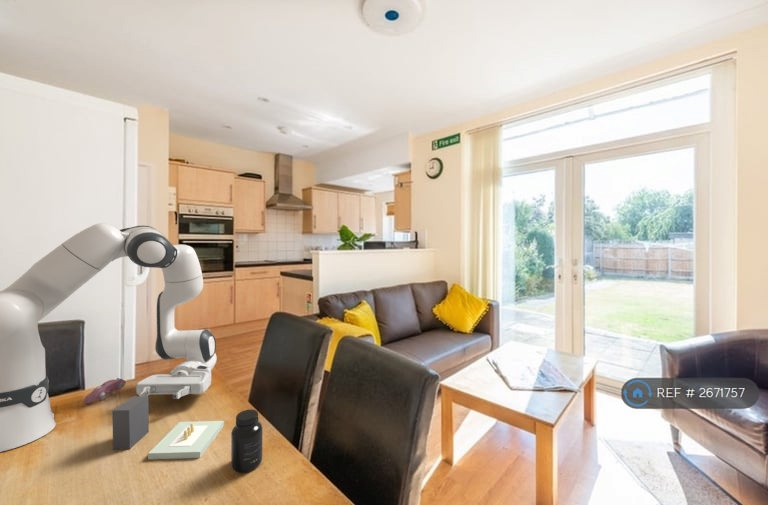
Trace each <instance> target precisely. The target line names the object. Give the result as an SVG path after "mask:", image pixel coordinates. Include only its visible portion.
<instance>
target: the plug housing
mask: <svg viewBox="0 0 768 505" xmlns="http://www.w3.org/2000/svg"><path fill="white" fill-rule="evenodd" d="M111 411H112V415H111V416H112V418H111V419H112V421H111V422H112V450H113V451H114V450H116V451H118V450H131V448H133V447H134V446H136V445H137V443H139V442H140V441H141V440H142V439H143V438H144V437H145V436H146V435H147V434H149V432H150V430H149V429H150V427H149V426H150V425H149V423H150V421H149V420H150V419H149V415H150V414H149V397H148V396H139V395H138V396H132V397H131V396H130V398H129V399H127V400H126V401H124V402H122V403H120V405H118V406H117V407H115V408H114V409H113V410H111Z"/></svg>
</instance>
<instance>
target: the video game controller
mask: <svg viewBox="0 0 768 505" xmlns="http://www.w3.org/2000/svg"><path fill="white" fill-rule="evenodd" d="M126 382H127V381H126V380H124V378H123V379H122V378H120V377H118V378H116V379H110V380H107V381H105V382H103V383H102V384H100V385H97V387H96V388H94V389H93V390H92V391H91V392H90V393H89V394H88V395H87V396H86V397H85V398H84V400H83V402H84V403H85V404H87V405H88V404H91V403H93V402H94V401H96V400H99V401H100V402H102V401H104V400H106V398H108V396H110V397H113V396H115V395H117V393H118V392H119V391H120V390H121V389H123V388H124V387H125V385H126Z"/></svg>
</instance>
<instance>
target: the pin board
mask: <svg viewBox="0 0 768 505" xmlns="http://www.w3.org/2000/svg"><path fill="white" fill-rule="evenodd" d="M224 423H225V421H224V420H200V421H198V420H197V421H178V423H177V424H176V425H175V426H174V427H173V428H172V429H171V430H170V431H169V432H168V433H167V434H166V435H164V437H162V439H161V440H160V441H159V442H158V443H156V445H155V446H154V447H153V448H152V449H151V450H150V451H149V452H148V453H147V459H148V460H174V459H177V460H178V459H200V458H201V457H203V455H204V453H205V452H206V451H207V449H208V448H209V446H210V445H211V444H212V442H213V441H214V440H215V438H217V436H218V434H219V433H220V432H221V430H222V429H223V428H224V427H225V426H224V425H225V424H224Z"/></svg>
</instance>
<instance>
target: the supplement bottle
mask: <svg viewBox="0 0 768 505" xmlns="http://www.w3.org/2000/svg"><path fill="white" fill-rule="evenodd" d="M230 436H231V437H230V438H231V439H230V443H231V444H230V447H231V448H230V451H231V452H230V454H231V456H230V458H231V459H230V460H231V461H230V462H231V464H230V465H231V469H232V470H233V471H234V472H235V473H237V474H247V473H249V472H252V471H254V470H256V468H258V467H259V466H260V465H261V463H262V461H263V424H262V422H260V420H259V412H258V410H256V409H252V408H251V409H250V408H249V409H245V410H242V411H240V412H239V413H237V415H236V417H235V425H234V426H233V428H232V430H231V433H230Z"/></svg>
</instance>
